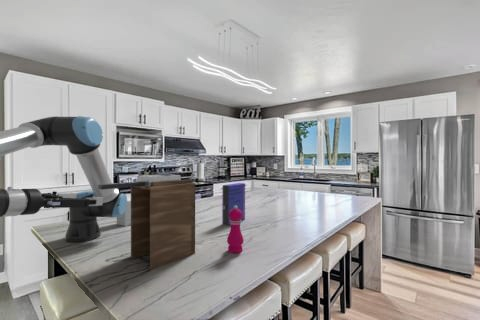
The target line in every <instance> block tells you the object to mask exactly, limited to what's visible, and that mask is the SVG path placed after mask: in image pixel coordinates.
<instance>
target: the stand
mask: <svg viewBox="0 0 480 320" xmlns="http://www.w3.org/2000/svg"><path fill="white" fill-rule="evenodd" d="M130 198H131V225H130V257H131V258H132V257H135V256H139V255H141V254H146V253H149V268H150V269H152V270H153V269H155V268H158V267H161V266H163V265H166V264H168V263H169V264H170V263H171V262H174V261H177V260H180V259H183V258H186V257H189V256H191V255H193V254H196V182H195V183H194V182H193V179H192V178H191V179H181V180H177V181H165V182H152V186H150V187H149V186H136V187H130Z"/></svg>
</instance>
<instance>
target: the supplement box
mask: <svg viewBox="0 0 480 320" xmlns="http://www.w3.org/2000/svg"><path fill="white" fill-rule="evenodd" d="M116 224H117V225H118V226H122V227H128V226H131V197H127V205H126V209H125V211H124V213H123V215H122V216H120V217H116Z"/></svg>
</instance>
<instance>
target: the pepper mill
mask: <svg viewBox="0 0 480 320" xmlns="http://www.w3.org/2000/svg"><path fill="white" fill-rule="evenodd" d="M237 208H238V207H237V206H236V205H235V206H234V209H232V210H230V212H229V218H230V219H231V220H230V224H231V225H230V230H229V233H228V235H227V241H226V242H227V245H228V247H227V251H228V252H229V253H232V254H238V253H239V254H240V253H241V252H243V246H242V245H243V244H244V236H243V233H242V231H241V224H242V221H241V220H240V219H241V218H242V212H241V210H239V209H237Z"/></svg>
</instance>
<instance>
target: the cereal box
mask: <svg viewBox="0 0 480 320" xmlns="http://www.w3.org/2000/svg"><path fill="white" fill-rule="evenodd" d="M221 198H222V204H221V206H222V219H221V221H222V223H221V224H222V225H224V226H231V224H230V220H231V219H230V218H229V212H230V210H232V209H234V206H235V205H236V206H237V207H238V208H237V209H239V210H241V212H242V218H241V219H240V220H241V222H242V221H245V220H246V183H244V182H236V183H230V184H228V183H227V184H224V185H222V197H221Z"/></svg>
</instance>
